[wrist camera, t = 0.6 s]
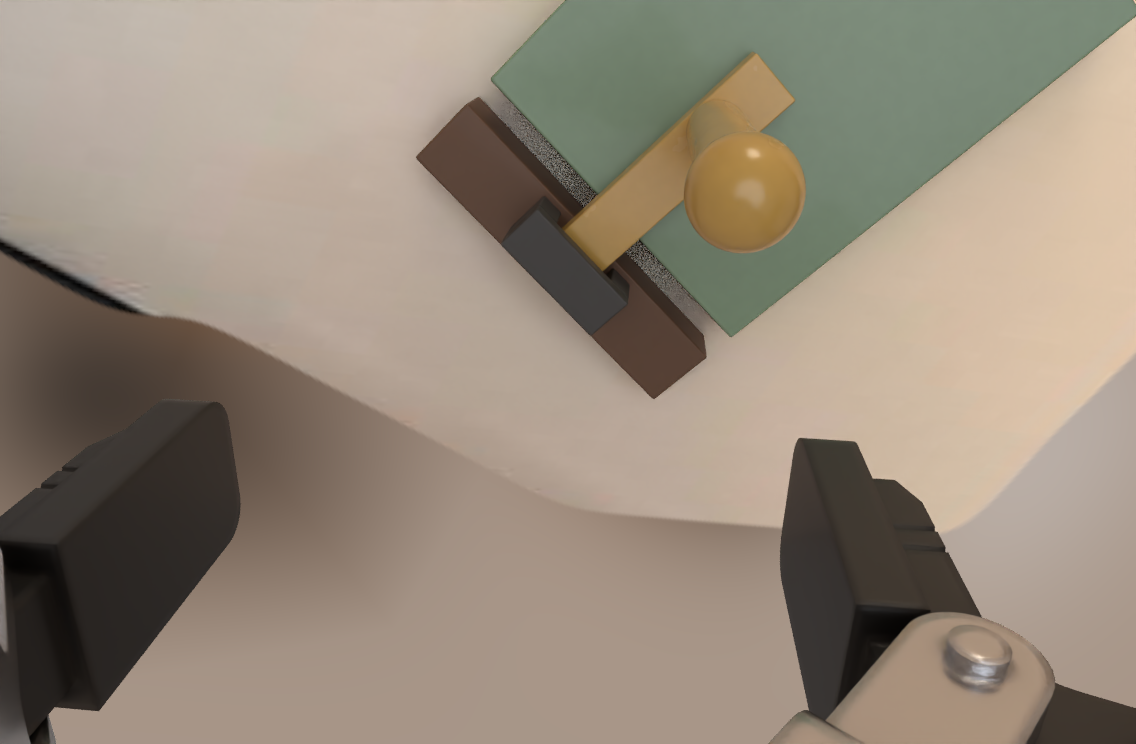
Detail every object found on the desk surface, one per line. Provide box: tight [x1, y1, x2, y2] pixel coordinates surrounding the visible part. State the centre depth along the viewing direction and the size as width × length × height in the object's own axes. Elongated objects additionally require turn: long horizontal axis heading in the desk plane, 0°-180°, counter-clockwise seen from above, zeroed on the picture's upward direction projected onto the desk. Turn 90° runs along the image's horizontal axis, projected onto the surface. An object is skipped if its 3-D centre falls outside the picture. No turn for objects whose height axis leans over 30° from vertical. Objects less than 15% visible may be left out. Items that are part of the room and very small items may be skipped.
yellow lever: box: [562, 52, 806, 271], centre depth 27 cm, size 3×11×13 cm, turn 134°
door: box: [416, 0, 1136, 399], centre depth 32 cm, size 14×22×5 cm, turn 134°
